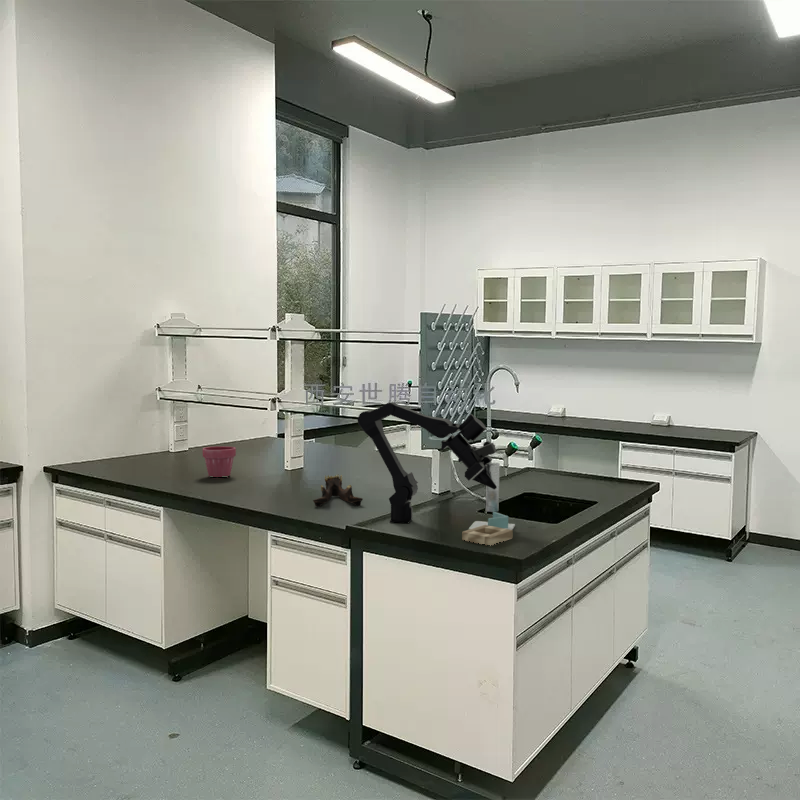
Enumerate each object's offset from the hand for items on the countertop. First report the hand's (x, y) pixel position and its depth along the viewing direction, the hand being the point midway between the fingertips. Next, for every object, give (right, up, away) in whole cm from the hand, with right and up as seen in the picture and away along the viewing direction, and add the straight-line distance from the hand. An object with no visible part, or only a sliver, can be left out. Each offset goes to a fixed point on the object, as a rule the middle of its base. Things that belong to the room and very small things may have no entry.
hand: (496, 487), depth 231 cm
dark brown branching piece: (-52, -11, +41) cm, 68 cm away
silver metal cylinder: (-1, -8, +1) cm, 8 cm away
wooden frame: (-4, -14, -12) cm, 19 cm away
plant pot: (-110, -6, +91) cm, 143 cm away
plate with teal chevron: (-1, -13, +1) cm, 13 cm away
